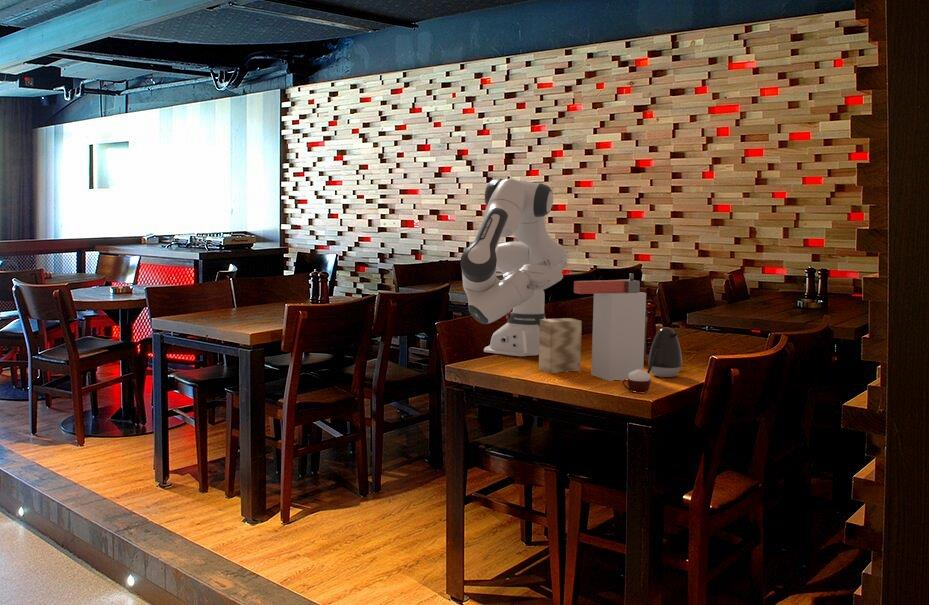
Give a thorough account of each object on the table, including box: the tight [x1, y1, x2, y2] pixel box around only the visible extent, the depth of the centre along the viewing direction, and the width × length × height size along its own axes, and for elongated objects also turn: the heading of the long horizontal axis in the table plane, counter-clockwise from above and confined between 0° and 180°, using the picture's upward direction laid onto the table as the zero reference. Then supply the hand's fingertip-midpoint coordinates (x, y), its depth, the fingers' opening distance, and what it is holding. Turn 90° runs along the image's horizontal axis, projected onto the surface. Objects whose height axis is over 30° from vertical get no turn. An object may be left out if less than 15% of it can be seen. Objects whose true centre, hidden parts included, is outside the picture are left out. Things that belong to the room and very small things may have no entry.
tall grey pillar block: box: [590, 291, 647, 382], centre depth 261 cm, size 12×10×26 cm
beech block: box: [538, 317, 583, 374], centre depth 271 cm, size 11×7×16 cm, turn 113°
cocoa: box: [622, 349, 658, 393], centre depth 241 cm, size 10×6×12 cm, turn 65°
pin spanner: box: [573, 273, 641, 295], centre depth 257 cm, size 20×6×6 cm, turn 113°
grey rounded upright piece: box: [647, 326, 683, 378], centre depth 264 cm, size 10×10×15 cm
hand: (557, 261), depth 250 cm, fingers open, 8 cm apart
